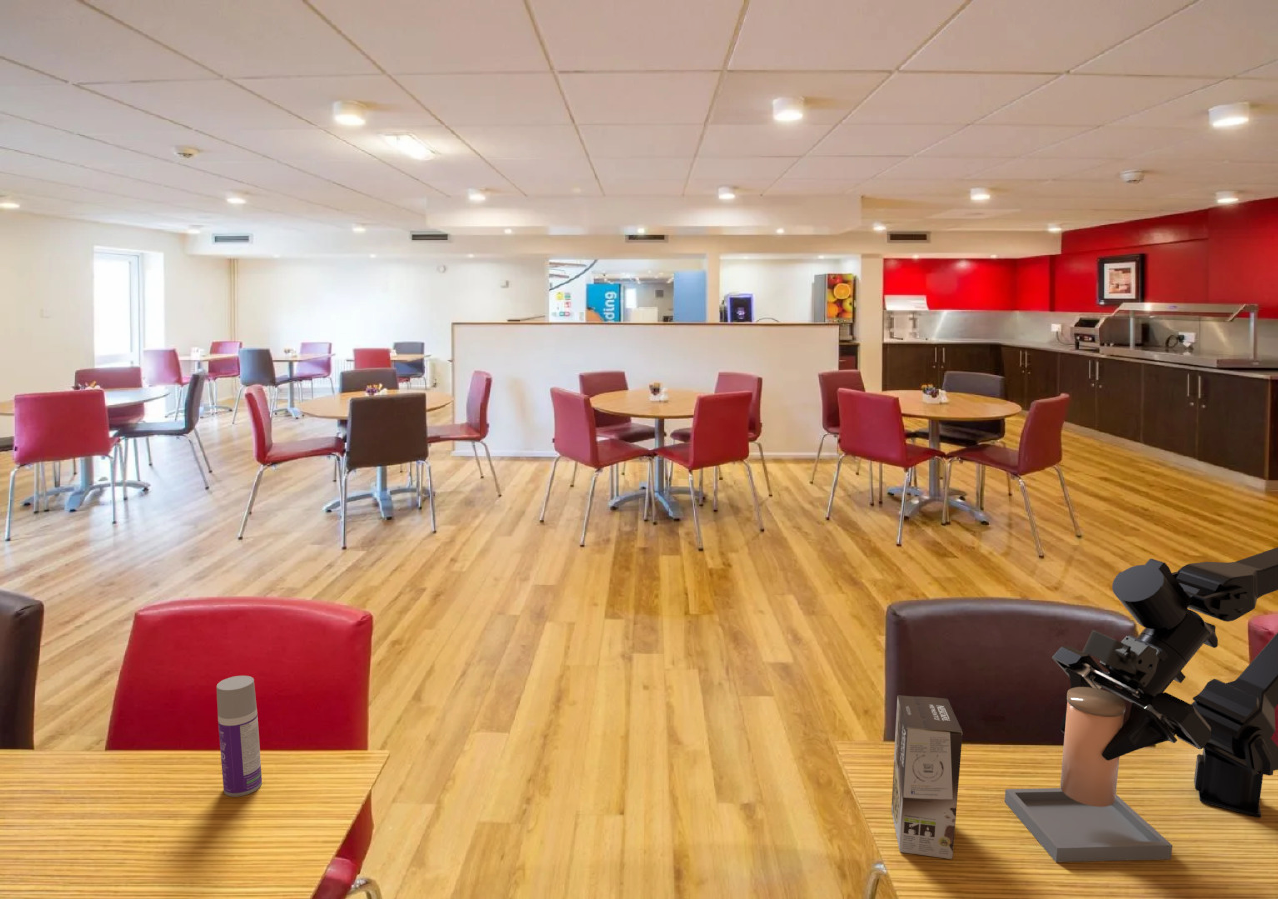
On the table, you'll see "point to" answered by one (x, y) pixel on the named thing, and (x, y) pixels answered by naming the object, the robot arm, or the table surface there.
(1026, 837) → the table surface
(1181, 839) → the table surface
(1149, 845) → the tray
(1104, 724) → the brown and pink cylinder
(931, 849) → the coffee box
